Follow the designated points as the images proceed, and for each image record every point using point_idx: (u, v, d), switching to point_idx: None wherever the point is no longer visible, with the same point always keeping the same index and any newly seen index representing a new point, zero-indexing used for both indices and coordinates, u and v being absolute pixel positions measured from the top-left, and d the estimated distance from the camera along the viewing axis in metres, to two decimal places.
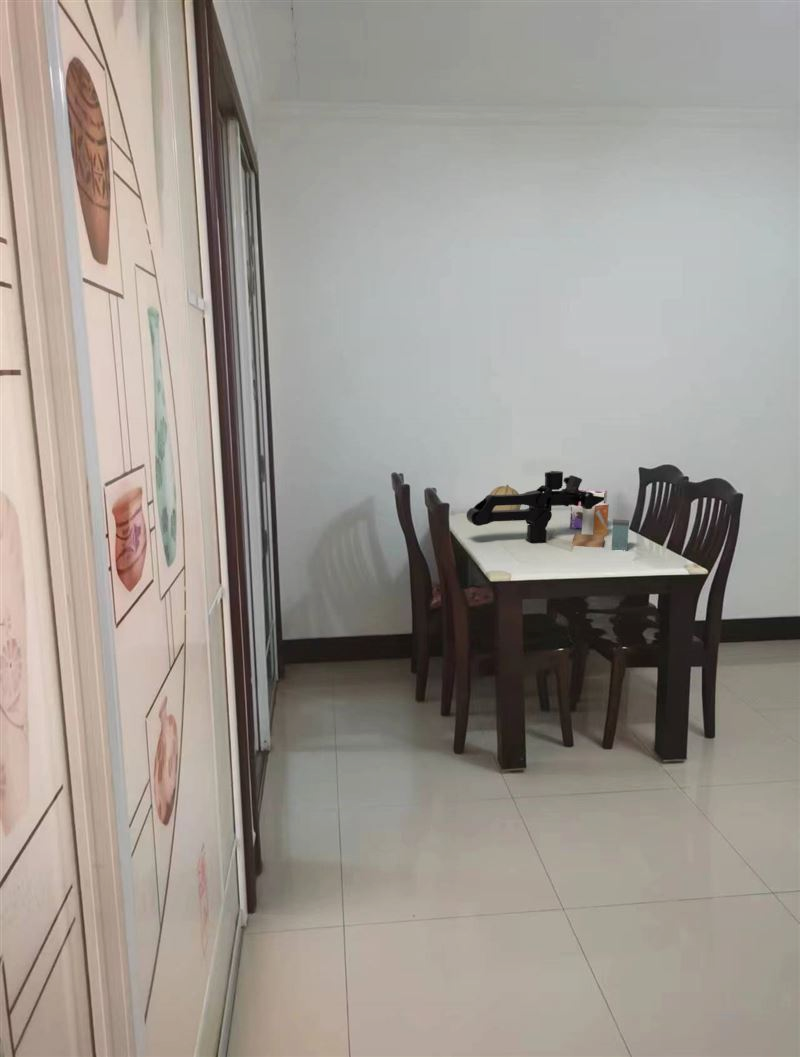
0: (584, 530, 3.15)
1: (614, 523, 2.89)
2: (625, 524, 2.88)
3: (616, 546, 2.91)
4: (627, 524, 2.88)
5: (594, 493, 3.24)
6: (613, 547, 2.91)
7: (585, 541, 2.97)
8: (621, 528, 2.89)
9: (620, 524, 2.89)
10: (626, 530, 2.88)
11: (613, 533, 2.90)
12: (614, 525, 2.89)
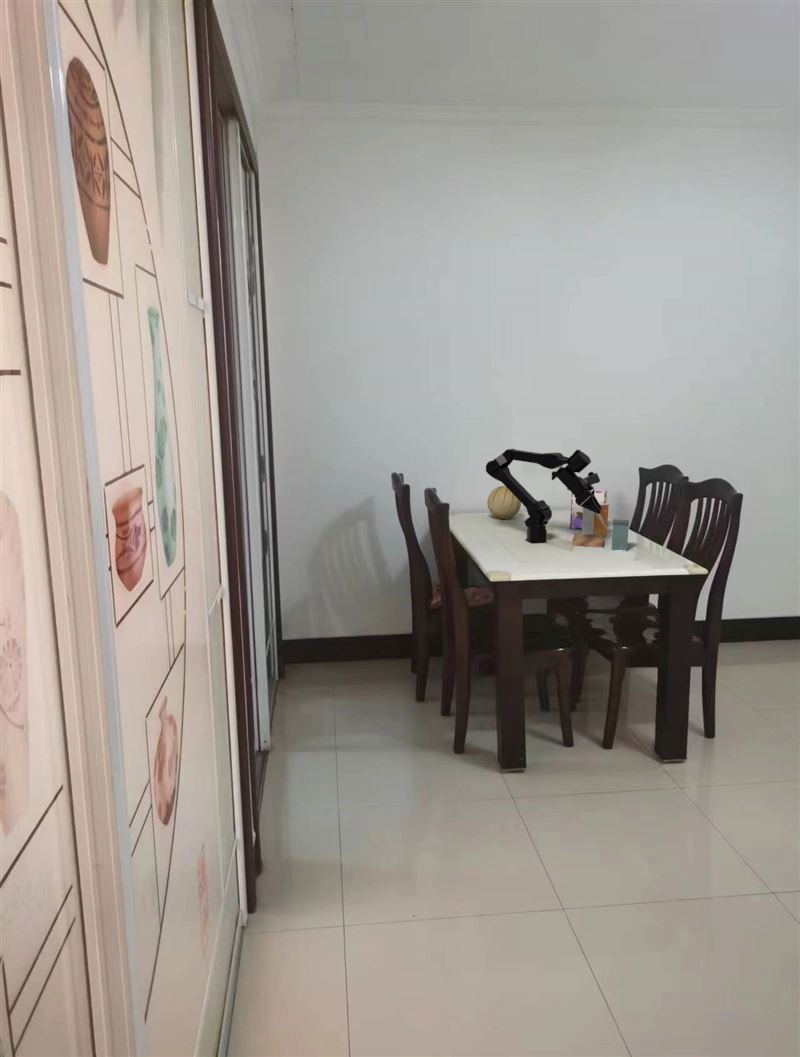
0: (584, 530, 3.15)
1: (614, 523, 2.89)
2: (625, 524, 2.88)
3: (616, 546, 2.91)
4: (627, 524, 2.88)
5: (594, 493, 3.24)
6: (613, 547, 2.91)
7: (585, 541, 2.97)
8: (621, 528, 2.89)
9: (620, 524, 2.89)
10: (626, 530, 2.88)
11: (613, 533, 2.90)
12: (614, 525, 2.89)
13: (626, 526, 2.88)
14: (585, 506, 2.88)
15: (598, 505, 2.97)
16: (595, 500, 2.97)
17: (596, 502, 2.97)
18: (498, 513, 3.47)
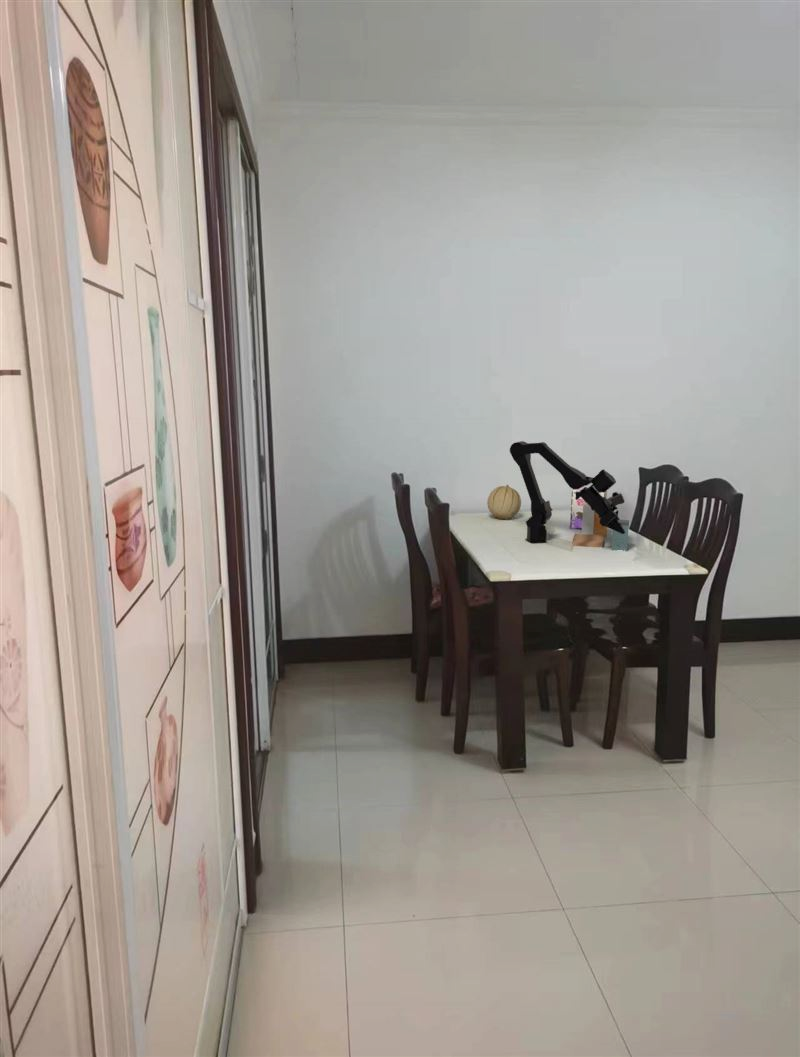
0: (584, 530, 3.15)
1: None
2: (625, 524, 2.88)
3: (616, 546, 2.91)
4: (627, 524, 2.88)
5: None
6: (613, 547, 2.91)
7: (585, 541, 2.97)
8: None
9: (620, 524, 2.89)
10: (626, 530, 2.88)
11: (613, 533, 2.90)
12: None
13: (626, 526, 2.88)
14: (609, 526, 2.88)
15: None
16: None
17: None
18: (498, 513, 3.47)
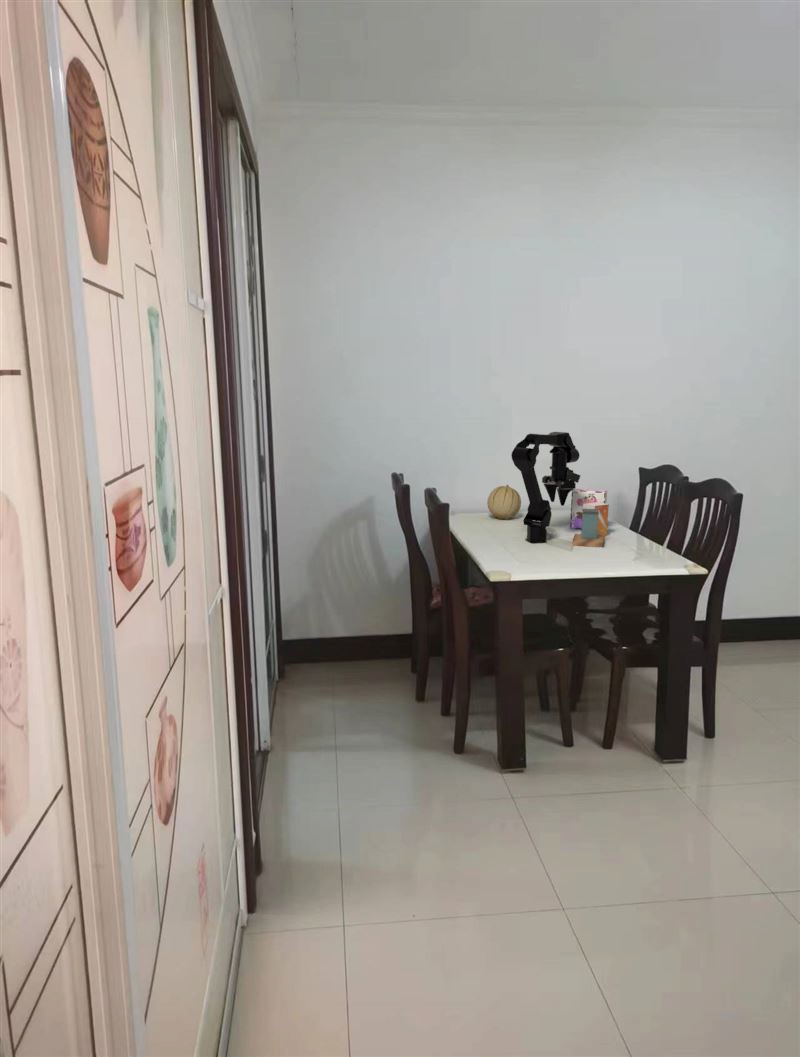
0: None
1: (584, 512, 2.97)
2: (595, 513, 2.96)
3: (586, 534, 2.98)
4: (597, 513, 2.96)
5: (594, 493, 3.24)
6: (583, 536, 2.99)
7: (585, 541, 2.97)
8: (591, 517, 2.97)
9: (590, 513, 2.96)
10: (596, 519, 2.97)
11: (583, 522, 2.98)
12: (584, 514, 2.97)
13: (596, 515, 2.96)
14: (560, 492, 3.06)
15: (553, 497, 3.17)
16: (554, 492, 3.17)
17: (554, 494, 3.17)
18: (498, 513, 3.47)
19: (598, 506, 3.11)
